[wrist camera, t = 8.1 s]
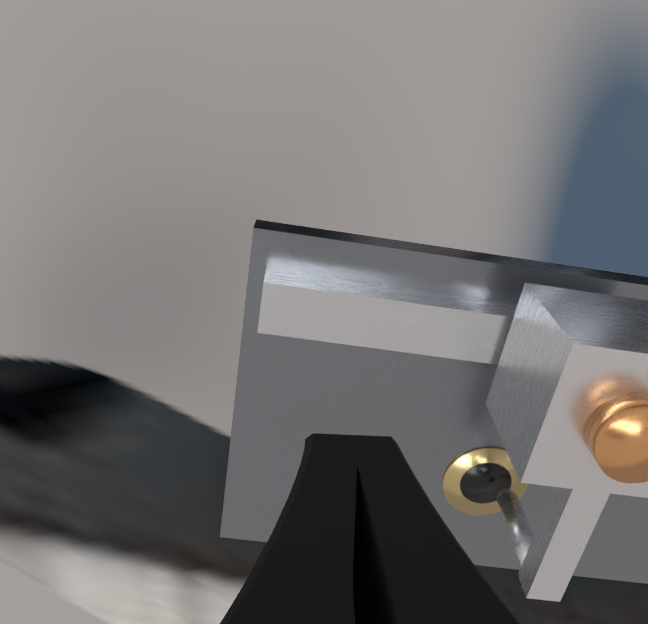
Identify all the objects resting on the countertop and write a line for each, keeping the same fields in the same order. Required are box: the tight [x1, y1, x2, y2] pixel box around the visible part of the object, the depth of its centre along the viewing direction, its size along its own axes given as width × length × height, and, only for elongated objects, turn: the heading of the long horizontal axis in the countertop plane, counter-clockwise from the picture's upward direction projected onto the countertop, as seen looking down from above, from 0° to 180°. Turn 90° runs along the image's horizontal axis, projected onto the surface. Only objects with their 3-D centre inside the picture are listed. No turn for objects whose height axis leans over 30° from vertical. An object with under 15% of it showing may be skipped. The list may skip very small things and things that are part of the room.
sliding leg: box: [486, 283, 648, 602], centre depth 17 cm, size 4×8×5 cm, turn 171°
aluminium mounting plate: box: [220, 220, 648, 584], centre depth 18 cm, size 20×12×6 cm, turn 81°
